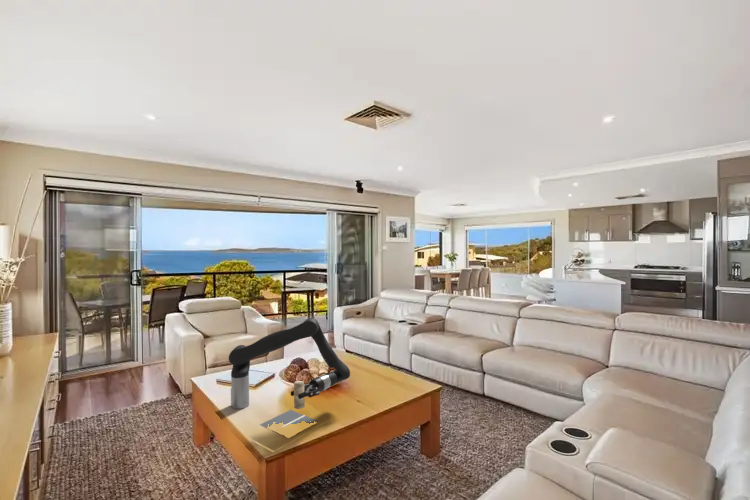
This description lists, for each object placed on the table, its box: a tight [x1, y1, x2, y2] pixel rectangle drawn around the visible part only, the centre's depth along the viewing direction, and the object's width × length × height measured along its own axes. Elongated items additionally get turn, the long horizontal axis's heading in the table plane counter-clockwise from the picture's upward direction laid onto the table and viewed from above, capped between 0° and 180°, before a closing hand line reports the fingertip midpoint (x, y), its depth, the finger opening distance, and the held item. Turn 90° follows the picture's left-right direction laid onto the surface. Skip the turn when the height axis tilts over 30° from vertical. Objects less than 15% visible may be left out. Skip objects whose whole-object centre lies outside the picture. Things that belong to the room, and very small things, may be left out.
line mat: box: [259, 409, 318, 429], centre depth 188 cm, size 22×20×1 cm
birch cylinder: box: [293, 381, 306, 410], centre depth 184 cm, size 5×5×12 cm
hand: (295, 395), depth 181 cm, fingers closed on birch cylinder, 5 cm apart
